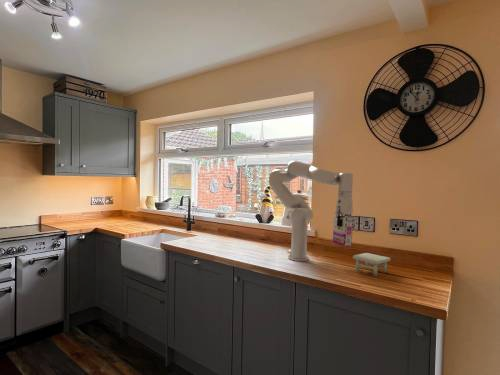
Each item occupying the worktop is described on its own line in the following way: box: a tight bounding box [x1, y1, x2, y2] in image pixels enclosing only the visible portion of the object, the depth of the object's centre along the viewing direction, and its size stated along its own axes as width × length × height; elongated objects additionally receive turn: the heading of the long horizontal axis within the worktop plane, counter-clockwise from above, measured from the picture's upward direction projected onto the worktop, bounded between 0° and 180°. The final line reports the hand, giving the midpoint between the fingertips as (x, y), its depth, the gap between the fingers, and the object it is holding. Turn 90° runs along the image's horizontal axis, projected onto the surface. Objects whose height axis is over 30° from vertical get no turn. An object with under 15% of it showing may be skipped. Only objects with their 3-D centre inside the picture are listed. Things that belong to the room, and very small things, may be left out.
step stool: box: [352, 252, 391, 277], centre depth 162 cm, size 14×14×8 cm
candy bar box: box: [332, 214, 354, 247], centre depth 169 cm, size 11×5×16 cm, turn 21°
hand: (343, 225), depth 169 cm, fingers closed on candy bar box, 6 cm apart
